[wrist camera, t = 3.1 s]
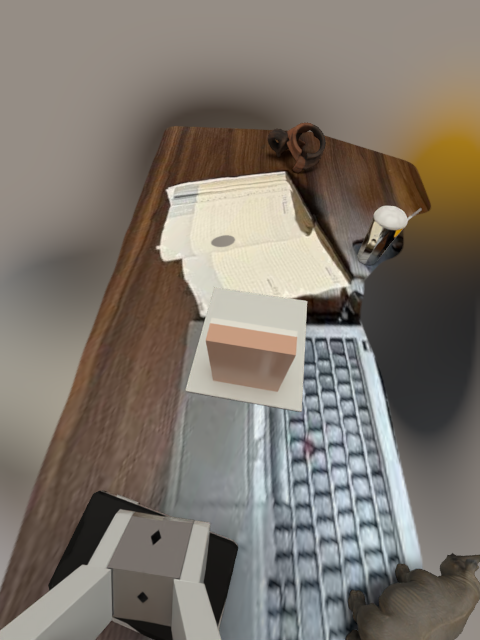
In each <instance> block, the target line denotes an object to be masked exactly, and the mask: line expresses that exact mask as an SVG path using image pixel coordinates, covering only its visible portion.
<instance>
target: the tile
mask: <svg viewBox="0 0 480 640" xmlns="http://www.w3.org/2000/svg"><path fill="white" fill-rule="evenodd" d="M297 332H298V331H293V330H286V329H280V328H274V327H268V326H261V325H255V324H249V323H242V322H236V321H230V320H224V319H217V318H211V322H210V325H209V329H208V333H207V337H206V345H207V351H208V356H209V361H210V367H211V372H212V377H213V381H218V382H224V383H230V384H236V385H241V386H247V387H253V388H258V389H264V390H270V391H276V392H278V390H279V388H280V386H281V384H282V382H283V380H284V378H285V376H286V374H287V372H288V370H289V368H290V366H291V364H292V362H293V360H294V358H295V356H296V347H297Z"/></svg>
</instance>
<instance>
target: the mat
mask: <svg viewBox="0 0 480 640" xmlns="http://www.w3.org/2000/svg"><path fill="white" fill-rule="evenodd" d="M306 313H307V301H302V300H296V299H289V298H283V297H276V296H269V295H263V294H256V293H250V292H243V291H236V290H230V289H223V288H217V287H214V290H213V293H212V297H211V300H210V304H209V308H208V311H207V315H206V318H205V322H204V326H203V329H202V333H201V336H200V340H199V344H198V347H197V351H196V354H195V358H194V362H193V365H192V369H191V372H190V376H189V380H188V383H187V387H186V390H185V391H186V392H191V393H197V394H202V395H208V396H214V397H219V398H225V399H230V400H236V401H242V402H247V403H253V404H258V405H264V406H270V407H275V408H281V409H286V410H292V411H298V412H301V411H302V393H303V373H304V353H305V333H306ZM211 318H217V319H224V320H230V321H236V322H242V323H249V324H255V325H261V326H268V327H274V328H280V329H286V330H293V331H298V332H297V347H296V356H295V358H294V360H293V362H292V364H291V366H290V368H289V370H288V372H287V374H286V376H285V378H284V380H283V382H282V384H281V386H280V388H279V390H278V392H276V391H270V390H264V389H258V388H253V387H247V386H241V385H236V384H230V383H224V382H218V381H213V377H212V372H211V367H210V361H209V356H208V351H207V345H206V337H207V333H208V329H209V325H210V322H211Z"/></svg>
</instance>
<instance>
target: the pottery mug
mask: <svg viewBox="0 0 480 640" xmlns="http://www.w3.org/2000/svg"><path fill="white" fill-rule="evenodd" d="M309 130H311V131H312V132H313V133H314V136H315V137H316V138H318V139H319V140H320V149H319V151H318V152H316V153H313V154H309V153H307V154H306V157H305V158H304V157H302V156H301V152H302V148H303V146H304V145H305V142H303V141H301V140H300V139H299V137H300V135H301V134H302V133H305V132H307V131H309ZM275 139H276V140H278V141H279V143H277V142H276V141H275ZM268 143H269V145H270V147H271V148H272V149H273V150H274V151H275V152H276V155H277V157H280V154H282V152H283V151H285V150H287V149H289V150H290V152H291V153H292V155H293V157H294V158H295V159H296V160H297V162H296V164H295V166H294V167H293V171H294V172H296V173H299V172H301V171H302V169H304V170H305V169H308V168H310V167H312V166H314V165H315V164H317V163H318V162H319V159H321V157H322V154H323V151H324V148H325V137H324V135H323V133H322V131H321V130H320V129H319V128H318V127H317V126H315V125H313V124H311V123H301V124H299V125H297V126H296V127H294V128H292V129H291V130H289V131H287V132H286V131H283V130H281V129H274V130H272V131H271V132H270V133H269V135H268Z"/></svg>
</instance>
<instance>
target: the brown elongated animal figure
mask: <svg viewBox="0 0 480 640" xmlns="http://www.w3.org/2000/svg"><path fill="white" fill-rule="evenodd" d="M479 562H480V555H472V556H456V555H454V554H453V553H452V554H451V555H448V556H447V558H446V559H445V560H444V561H443V562H442V564H441V565H440V571H441V576H438V577H437V576H435V575H433V574H431V573H429V572H428V571H425V570H422V569H415V570H412V571H409V568H408V566H407V565H405V564H398V565H397V568H396V571H395V573H396V577H397V579H398V581H399V582H400V583H394V584H391V585H390V586H388V587H387V588H386V589H385V590H384V592H383V593H382V595H381V596H380V597H379V607H378V606H376V605H375V604H374V603H371V604H369V605H366V602H365V596H364V594H363V593H362V592H361V591H355V590H352V591H351V592H350V596H349V599H348V605H349V608H350V610H351V611H352V612H353V618H354V620H355V621H356V622H357V624H358V630H359V631H358V630H352V631H351V633H350V634H348V635H347V637H346V640H454V639H456V638H457V637H458V636H459V634H461V632H462V631H463V628H464V626H465V624H466V622H467V620H468V617H469V616H470V614H471V613H472V611H473V610H474V608H475V605H476V604H477V603H478V601H479V599H480V583H479V581H478V580H477V578H476V577H475V575H474V573H475V571H476V570H477V569H478V568H479V566H477V563H479Z"/></svg>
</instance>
